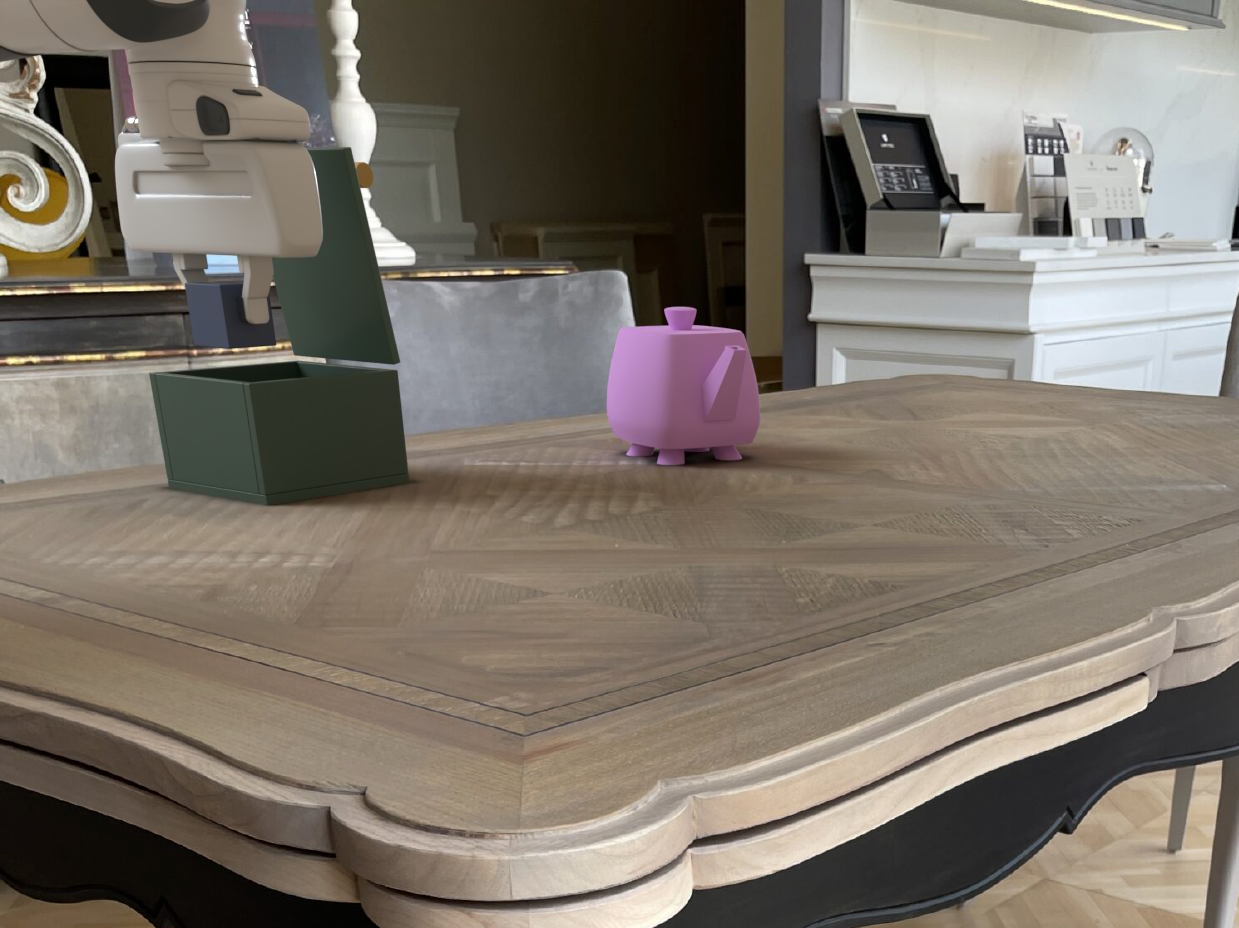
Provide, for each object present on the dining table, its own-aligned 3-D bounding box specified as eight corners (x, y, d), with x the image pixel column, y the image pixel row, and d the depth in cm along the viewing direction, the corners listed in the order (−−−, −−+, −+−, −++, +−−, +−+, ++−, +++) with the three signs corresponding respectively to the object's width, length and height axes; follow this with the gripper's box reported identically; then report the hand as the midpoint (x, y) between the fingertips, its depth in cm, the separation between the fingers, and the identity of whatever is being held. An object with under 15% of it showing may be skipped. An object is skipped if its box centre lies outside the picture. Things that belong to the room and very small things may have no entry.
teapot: (578, 448, 151) (570, 302, 145) (691, 440, 157) (688, 299, 151) (678, 477, 136) (674, 316, 130) (798, 467, 142) (800, 312, 136)
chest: (267, 506, 122) (249, 383, 117) (169, 489, 128) (148, 372, 124) (410, 483, 132) (398, 369, 128) (312, 468, 138) (298, 360, 134)
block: (229, 349, 120) (219, 285, 117) (194, 346, 122) (184, 283, 120) (276, 345, 123) (268, 283, 121) (241, 342, 125) (232, 281, 123)
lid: (343, 148, 118) (396, 136, 121) (238, 149, 124) (291, 138, 128) (393, 365, 127) (441, 348, 131) (293, 355, 134) (341, 340, 137)
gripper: (79, 114, 118) (116, 317, 124) (251, 108, 107) (281, 330, 114) (152, 118, 122) (185, 313, 129) (324, 112, 112) (349, 325, 119)
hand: (231, 321), depth 121 cm, fingers closed on block, 4 cm apart
